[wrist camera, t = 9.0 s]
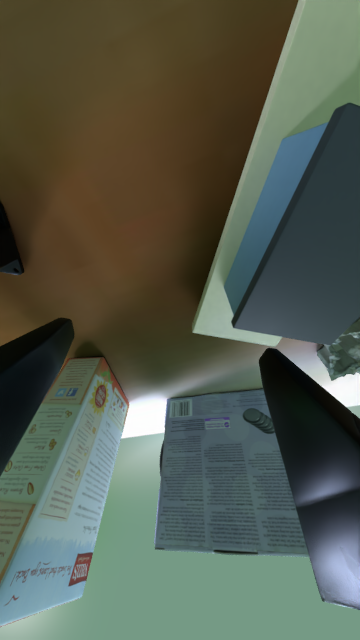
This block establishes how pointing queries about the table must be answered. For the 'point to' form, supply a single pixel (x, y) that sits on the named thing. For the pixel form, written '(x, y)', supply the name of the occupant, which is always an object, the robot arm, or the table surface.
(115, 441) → the cracker box
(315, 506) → the robot arm
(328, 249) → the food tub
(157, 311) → the table surface
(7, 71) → the table surface
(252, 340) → the cream lidded box
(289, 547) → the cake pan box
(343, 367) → the egg carton
